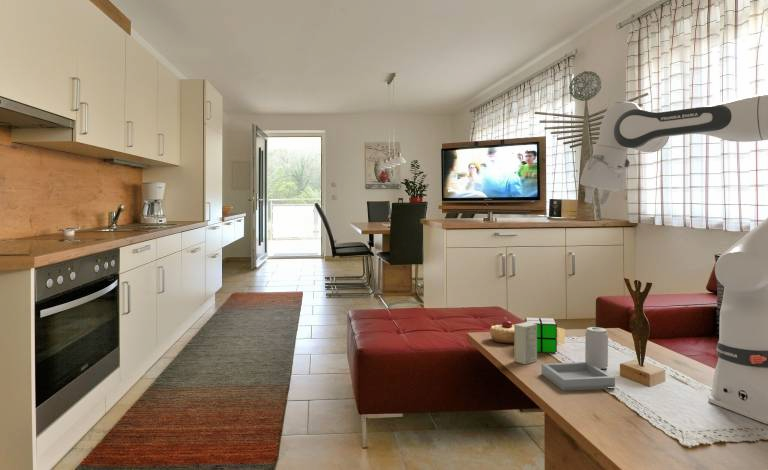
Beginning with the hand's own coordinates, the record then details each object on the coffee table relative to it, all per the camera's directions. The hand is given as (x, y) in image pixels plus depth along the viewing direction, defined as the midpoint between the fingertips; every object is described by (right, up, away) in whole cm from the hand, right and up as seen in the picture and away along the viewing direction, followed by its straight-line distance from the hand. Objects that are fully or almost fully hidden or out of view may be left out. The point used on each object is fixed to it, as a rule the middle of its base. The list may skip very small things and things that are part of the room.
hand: (595, 203), depth 151 cm
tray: (-9, -51, -8) cm, 52 cm away
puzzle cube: (-8, -50, +26) cm, 57 cm away
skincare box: (-18, -50, +11) cm, 54 cm away
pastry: (-18, -49, +37) cm, 64 cm away
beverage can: (+2, -50, +4) cm, 51 cm away
